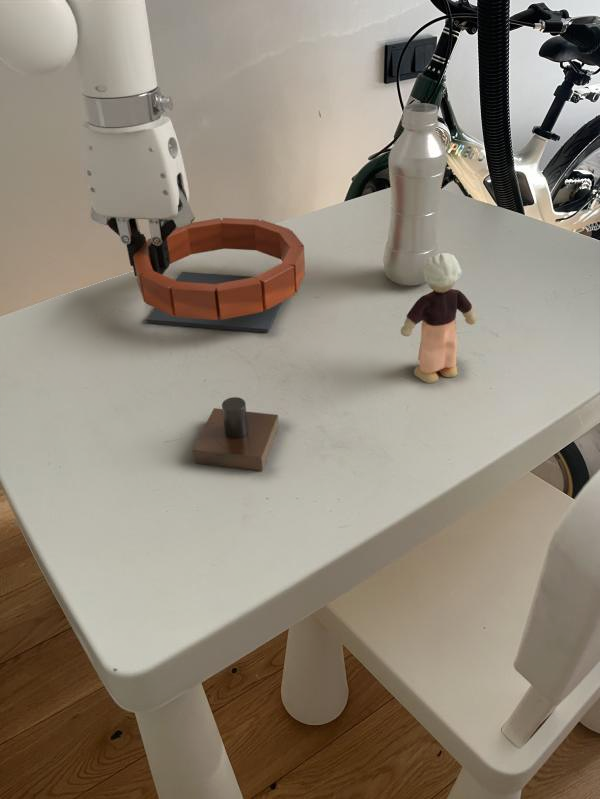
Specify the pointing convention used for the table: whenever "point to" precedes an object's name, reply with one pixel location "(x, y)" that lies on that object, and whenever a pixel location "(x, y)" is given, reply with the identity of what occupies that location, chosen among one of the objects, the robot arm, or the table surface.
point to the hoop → (228, 295)
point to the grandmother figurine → (438, 318)
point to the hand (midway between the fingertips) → (151, 271)
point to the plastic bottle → (414, 195)
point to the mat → (241, 323)
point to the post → (236, 437)
